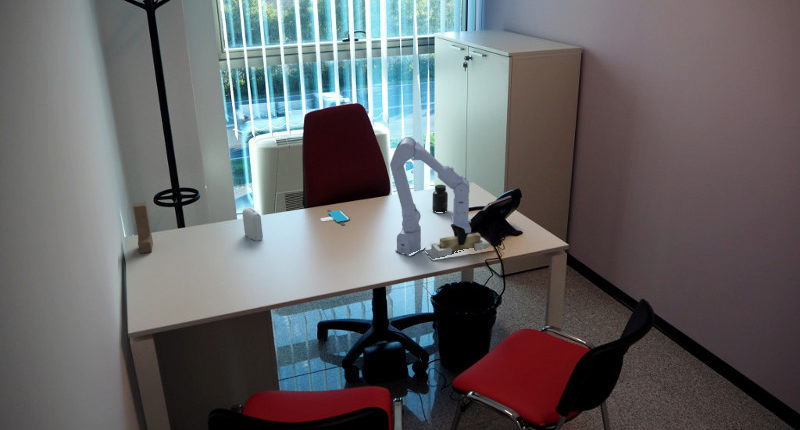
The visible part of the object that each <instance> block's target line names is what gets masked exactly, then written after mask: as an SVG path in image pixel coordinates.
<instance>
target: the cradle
mask: <svg viewBox="0 0 800 430" xmlns="http://www.w3.org/2000/svg"><path fill="white" fill-rule="evenodd" d="M489 244H490V243H489V241H487V240H486V239H485V238H484V237H482V235H481V236H480V243H475V244H474V250H475V251H477V250H482V249H486V248H488V247H489ZM430 246H431V249H424V252H425V251H426V252H427V253H428V255H429V256H430V257H431V258H432V259H435V258H440V257H445V256H447V255H452V254H454V252H455V251H452V249H451V248H450V247H449V248H443V249H440V242H433V243H431V245H430ZM457 251H458V250H457ZM457 251H456V252H455V253H458V252H457ZM463 251H464V250H463ZM459 252H461V251H459ZM428 255H427V256H428Z"/></svg>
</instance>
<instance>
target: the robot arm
mask: <svg viewBox="0 0 800 430" xmlns="http://www.w3.org/2000/svg"><path fill="white" fill-rule="evenodd" d="M411 159H412V160H413V161H422V162H423V163H424V164H425V165H427V166H428V167H429V168H430V169H432V170H433V171H434V172H435V173H437V178H438V179H439V180H440V181H441V182H443V183H444V184H445V186H446V187H449V188H450V189H452V192H453V194H454V198H453V214H450V221H452V223H451V224H450V227H451V230H452V231H453V236H458V243H459V245H464V244H465V241H466V238H467V235H468V234H472V227H471V225H470V223H471V222H472V220H471V219H470V218H469V212H470V211H469V210H470V209H469V206H470V183H469V180H467V178H466V177H464V176H462V175H461V176H460V175H459V174H458V173H457V172H455V169H454V167H452V166H449V165H443V164H441V163H440V161H438V160H437V158H435V157H434V156H433V155H432V154H431V153H430V152H429V151H428V150H427V149H425V148H424V146H423V145H422V144H421V143H420V142H418V141H417V142H416V140H415V139H414V138H413V137H410V136H408V137H407V136H405V137H404V138H402V139H401V140H400V141H399V143H398V144H397V146H396V148H395V150H394V153H393V155H392V158H391V160H390V162H389V166H390V171H391V174H392V176H393V177H392V178H393V182H394V184H395V185H394V186H395V189H396V192H397V197H398V199H399V204H400V207H401V217H402V222H401V226H402V227H401V230H400V232H399V233H398V234H397V236H396V249H395V250H394V251H395V252H396V251H398V252H397V253H399V252H401V253H400V254H402V253H404V254H403V255H405V254H407V255H406V256H408V255H409V254H411V253H413V252H416V251H418V250H420V249H421V246H422V245H421V244H422V242H421V240H422V233H421V231H422V229H421V225H420V223H419V222H420V220H421V216H422V215H421V212H420V211H419V210H418V208H417V206H416V203H414V200H413V195H412V191H411V188H410V184H409V181H408V176H407V172H406V168H405V164H406V163H407V162H408V161H409V160H411Z"/></svg>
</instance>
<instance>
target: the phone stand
mask: <svg viewBox="0 0 800 430" xmlns="http://www.w3.org/2000/svg"><path fill="white" fill-rule="evenodd" d="M326 211H327V213H328V215H330V216H327V217H321V218H320V221H321V222H330V221H336V222H337V223H339V224H340V225H341V226H346V223H345V222H346V221H350V220H351V217H350V216H348V215H347V214H346V213H345V212H344V210H342V209H341V210H334V211H332V210H331V209H327V210H326Z"/></svg>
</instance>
